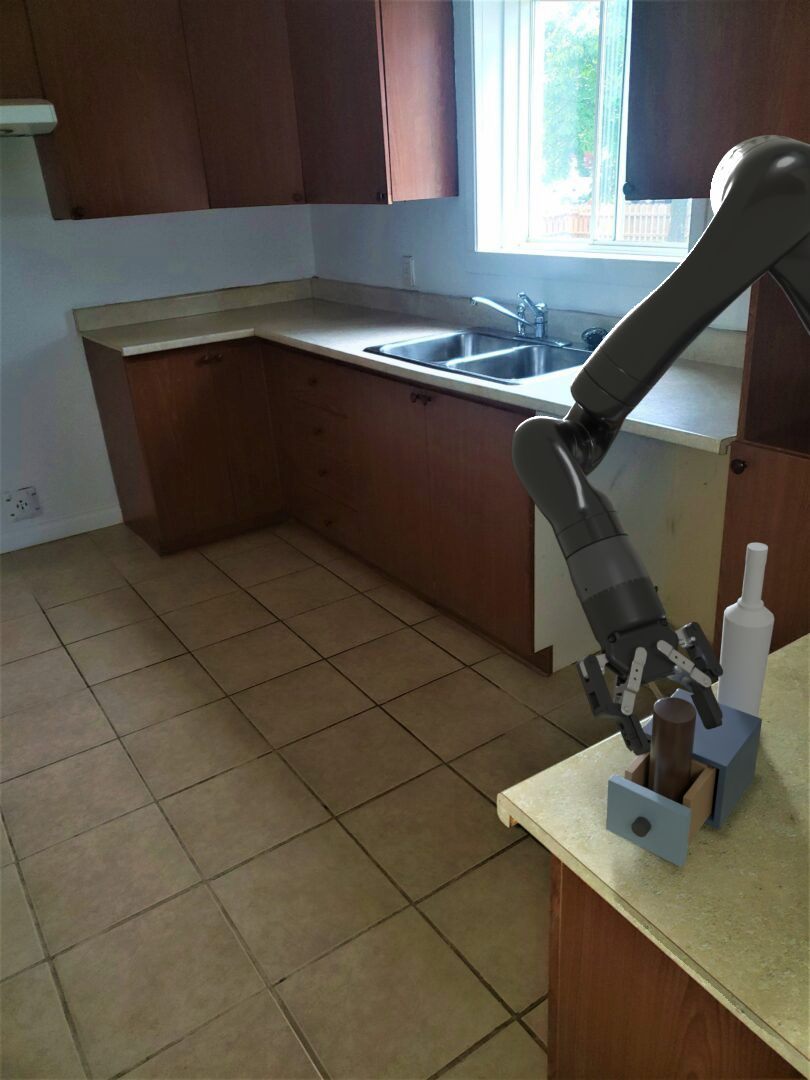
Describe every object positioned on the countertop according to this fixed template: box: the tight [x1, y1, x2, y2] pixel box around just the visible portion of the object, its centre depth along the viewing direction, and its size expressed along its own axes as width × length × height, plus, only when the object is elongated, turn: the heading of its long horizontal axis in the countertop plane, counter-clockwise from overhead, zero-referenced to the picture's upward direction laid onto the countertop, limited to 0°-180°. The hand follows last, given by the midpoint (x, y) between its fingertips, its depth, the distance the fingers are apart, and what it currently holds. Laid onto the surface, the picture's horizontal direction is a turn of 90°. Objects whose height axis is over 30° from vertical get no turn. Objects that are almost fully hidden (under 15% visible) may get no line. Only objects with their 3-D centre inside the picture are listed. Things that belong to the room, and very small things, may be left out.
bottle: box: [716, 542, 775, 718], centre depth 92 cm, size 5×5×25 cm
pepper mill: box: [648, 696, 697, 805], centre depth 82 cm, size 4×4×13 cm
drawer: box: [605, 742, 716, 868], centre depth 83 cm, size 10×8×7 cm
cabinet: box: [642, 687, 763, 831], centre depth 89 cm, size 9×9×8 cm
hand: (679, 740), depth 80 cm, fingers open, 8 cm apart
